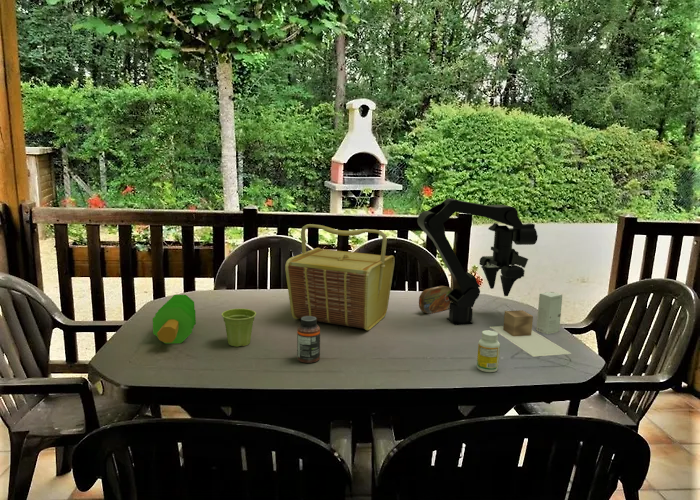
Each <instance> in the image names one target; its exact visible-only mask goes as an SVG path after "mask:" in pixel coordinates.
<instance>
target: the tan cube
mask: <svg viewBox="0 0 700 500" xmlns="http://www.w3.org/2000/svg"><path fill="white" fill-rule="evenodd" d="M503 315H504V317H503V326H504V327H503V330H504V331H506V332H507V333H509V334H510V335H512V336H527V335H531V333H532V330H533V321H534V316H533V315H532V314H529V313H528V312H526V311H524V310H523V309H522V310H521V309H520V310H504V314H503Z"/></svg>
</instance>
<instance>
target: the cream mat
mask: <svg viewBox="0 0 700 500" xmlns="http://www.w3.org/2000/svg"><path fill="white" fill-rule="evenodd" d="M503 327H504V325H498V326H495V325H494V326H489V328H490V329H492V331H495V332H497V333H498V335H500V336H502V337H503V338H505V339H506V340H508V341H509V342H511V343H512V344H514V345H516V347H518V348H520V349H521V350H523V351H524V352H525V353H527V354H528V355H530V356H531V357H533V358H534V357H544V356H546V357H547V356H560V355H572V352H570V351H568V350H567V349H565V348H563V347H561V346H560V345H558V344H556V343H555V342H553V341H551V340H550V339H548V338H546V337H545V336H543V335H541V334H539V333H538V332H537V331H536V330H535V331H534V330H533V329H532V333H531V335H527V336H512V335H510V334H509V333H507V332H506V331H504V330H503Z"/></svg>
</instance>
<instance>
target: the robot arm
mask: <svg viewBox="0 0 700 500" xmlns="http://www.w3.org/2000/svg"><path fill="white" fill-rule="evenodd" d="M455 213H458V214H459V213H460V214H465V215H470V216H478V217H483V218H487V219H490V220H492V221H495V222H493V223H492V225H490V226H489V227H488V230H490V231H492V232H494V235H493V236H494V237H493V246H490V250H491V251H492V255H489V256H488V255H486V256H485V255H484V256H483V255H482V256H481V257H480V258H479V265H480V267H481V269H482V271H483V273H484V276H485V278H486V281H487V284H488V286H489V289H495V284H496V281H497V280H496V279H497V274H498V272H499V271H500V274H501V275H499V276H500V282H501V286H502V287H501V288H502V293H503V296H504V297H508V296H509V294H510V292H511V290H512V288H513V285H514V284H515V282H516V281H517V280H519V279H522V278H524V277H525V268H526V266H527V263H528V261H529V258H527V257H525V256H522V255H519V252H518V251H517V250H516V249H515V248H513V243H514V244H515V245H517V246H521V245H523V246H525V245H527V246H528V245H530V246H533V245H535V244H536V243H537V241H538V237H539V235H538V232H537V230H536V226H535V225H536V224H534V223H523V221H522V220H521V219H520V217H519V213H518V210H517V209H516V207H514V206H510V205H506V204H481V203H475V202H470V201H466V200H465V201H464V200H458V199H456V198H452V197H451V198H450V197H449V198H446V199H445V200H444V201H442V202H440V203H439V204H436V205H435V206H433V207H431V208H430V209H428V210H423V211H422V212H421V213H420V214H419V215H418V217H417V220H416V222H417V225H418V227H420V228H421V230H422V231H423V232H424V233H425V235H426V236H428V238H429V239H430V240H431V241H432V242H433V244H434V247H435V248H436V250H437V252H438V254H439V256H440V257H441V259H442V261H443V262H444V265H445V266H446V268H447V269H448V271H449V274H450V275H451V276H452V277H451V278H452V284H453V287H454V288H453V289H451V290H452V291H451V292H450V293H449V294H448V298H449V300H450V301H452V303H450V307H449V308H448V317H446V320H447V321H448V322H450V323H451V324H452V325H454V326H464V325H467V326H468V325H473V324H474V322H472V321H473V310H474V308H473V307H474V305H475V304H476V300H477V299H478V298H479V296H480V295H481V294H480V293H481V290H480V287H481V285H480V284H479V283H478V281H477V278H476V276H475V275H473V274H472V273H470V272H468V271H465V269H464V267H463V266H462V264H461V262H460V260H459V258H458V256H457V255H456V253H455V251H454V249H453V247H452V246H451V244H450V242H449V240H448V239H447V237H446V229H445V225H444V224H445V223H446V222H447V221H448V220H450V218H451V217H452V216H453V215H454V214H455ZM496 222H497V223H496ZM499 223H501V224H502V225H500V224H499ZM509 227H510V228H509Z"/></svg>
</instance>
